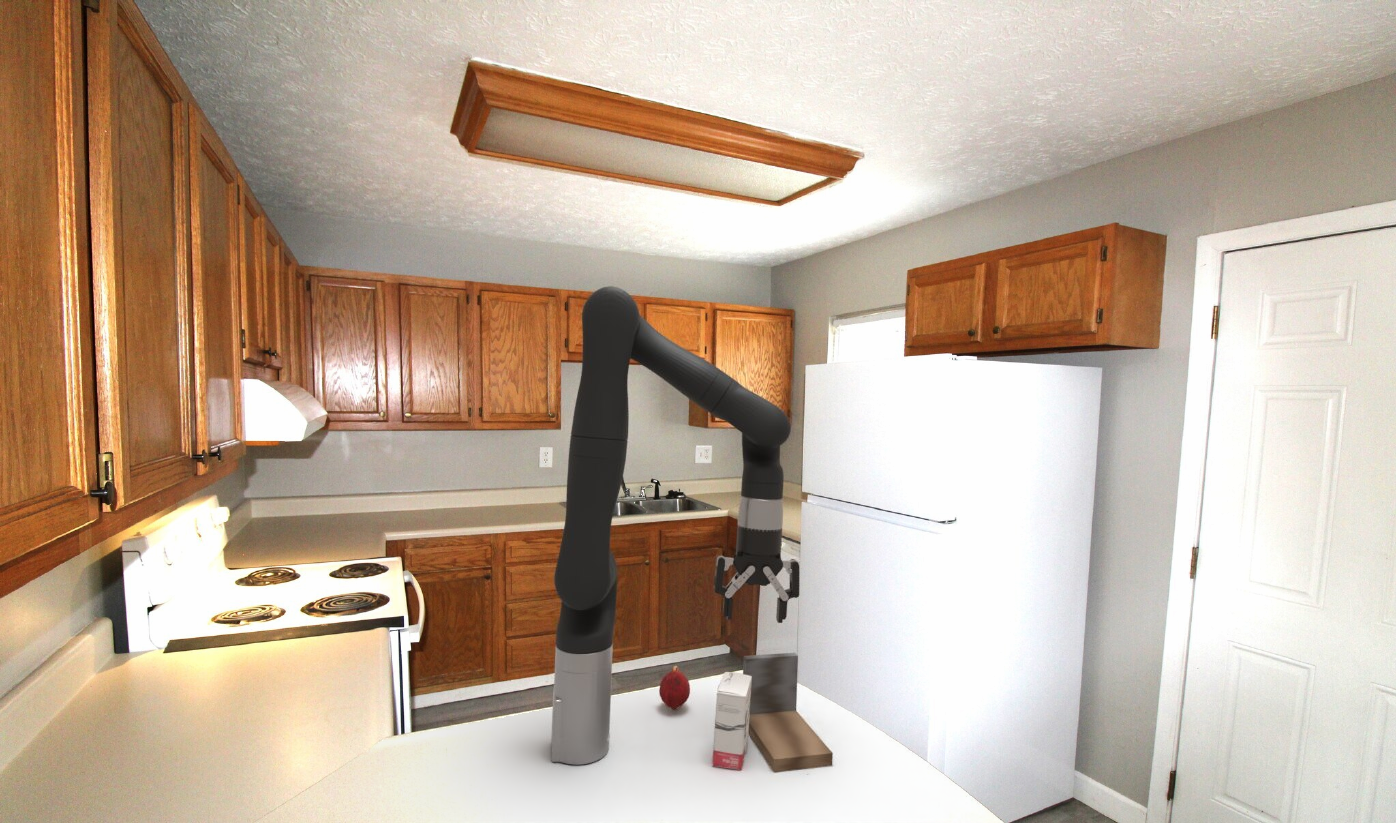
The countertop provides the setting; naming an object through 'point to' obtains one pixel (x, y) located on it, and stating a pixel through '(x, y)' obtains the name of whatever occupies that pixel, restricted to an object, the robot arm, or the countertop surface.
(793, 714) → the shelf board
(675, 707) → the onion
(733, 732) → the ink box
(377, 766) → the countertop surface
